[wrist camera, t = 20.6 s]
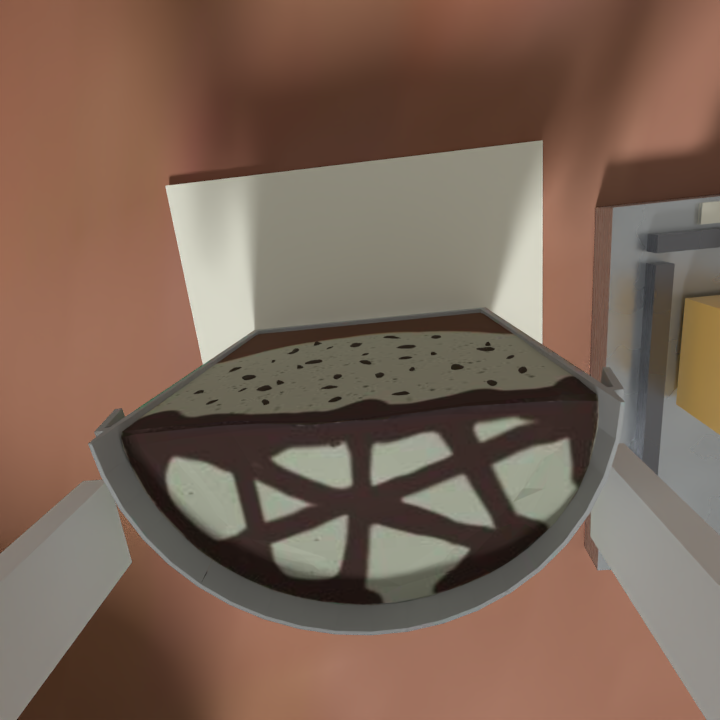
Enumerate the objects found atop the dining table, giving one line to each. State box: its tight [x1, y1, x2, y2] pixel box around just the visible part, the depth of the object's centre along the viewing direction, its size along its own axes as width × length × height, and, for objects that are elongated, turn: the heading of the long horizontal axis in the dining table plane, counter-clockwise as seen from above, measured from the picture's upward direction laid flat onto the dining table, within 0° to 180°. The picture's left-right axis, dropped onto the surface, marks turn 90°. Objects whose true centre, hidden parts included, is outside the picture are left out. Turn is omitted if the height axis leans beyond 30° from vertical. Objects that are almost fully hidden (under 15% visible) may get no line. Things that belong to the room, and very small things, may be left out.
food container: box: [88, 307, 625, 635], centre depth 16 cm, size 12×6×10 cm, turn 97°
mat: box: [166, 140, 543, 364], centre depth 21 cm, size 14×18×1 cm
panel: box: [585, 194, 720, 570], centre depth 19 cm, size 8×15×2 cm, turn 6°
